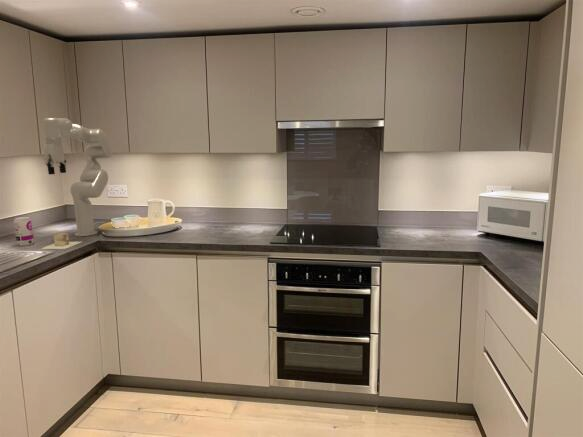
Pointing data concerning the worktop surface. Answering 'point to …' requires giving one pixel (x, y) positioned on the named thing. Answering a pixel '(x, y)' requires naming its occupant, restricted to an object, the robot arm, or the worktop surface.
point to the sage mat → (61, 246)
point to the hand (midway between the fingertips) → (57, 173)
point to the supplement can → (23, 231)
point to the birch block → (61, 239)
